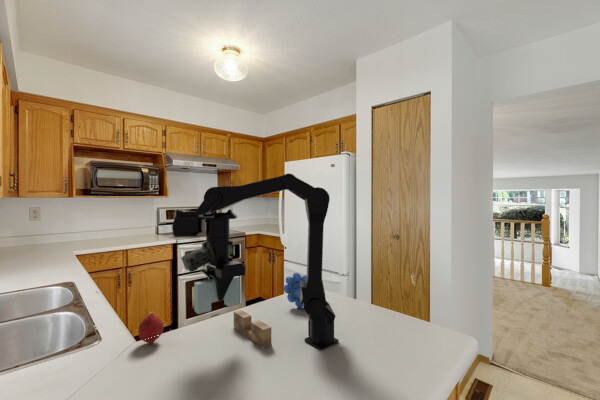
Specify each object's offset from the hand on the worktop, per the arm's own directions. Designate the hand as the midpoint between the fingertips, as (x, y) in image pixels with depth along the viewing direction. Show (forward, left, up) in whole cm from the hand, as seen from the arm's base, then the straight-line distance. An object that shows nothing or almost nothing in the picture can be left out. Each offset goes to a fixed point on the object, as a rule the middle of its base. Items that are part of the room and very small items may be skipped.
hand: (218, 299), depth 73 cm
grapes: (+7, -32, -12) cm, 35 cm away
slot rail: (0, -9, -12) cm, 15 cm away
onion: (+13, +13, -12) cm, 22 cm away
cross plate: (0, 0, -2) cm, 2 cm away
